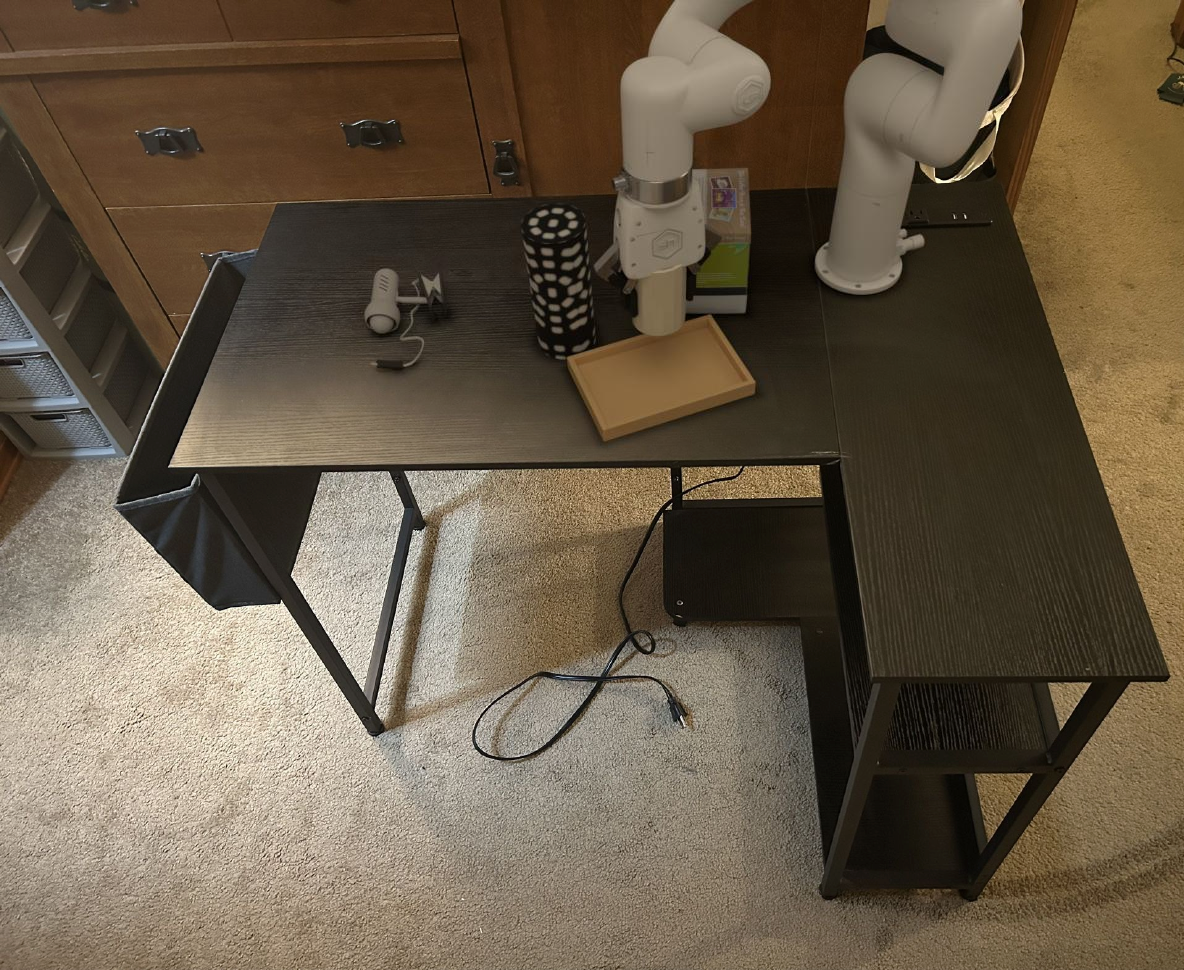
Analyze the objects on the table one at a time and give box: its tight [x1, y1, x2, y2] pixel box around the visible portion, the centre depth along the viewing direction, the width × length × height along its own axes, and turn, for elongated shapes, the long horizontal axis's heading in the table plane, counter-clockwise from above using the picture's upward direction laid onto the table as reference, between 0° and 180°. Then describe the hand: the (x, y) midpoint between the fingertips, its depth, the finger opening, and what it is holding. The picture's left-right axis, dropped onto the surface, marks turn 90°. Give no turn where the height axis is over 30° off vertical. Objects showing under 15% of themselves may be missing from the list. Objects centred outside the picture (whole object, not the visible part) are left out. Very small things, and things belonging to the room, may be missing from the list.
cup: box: [631, 264, 686, 336], centre depth 113 cm, size 7×7×10 cm
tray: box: [566, 313, 757, 442], centre depth 125 cm, size 22×15×2 cm
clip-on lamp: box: [364, 267, 449, 371], centre depth 134 cm, size 12×6×18 cm
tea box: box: [685, 167, 752, 315], centre depth 132 cm, size 15×10×15 cm, turn 175°
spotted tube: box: [520, 202, 597, 360], centre depth 125 cm, size 8×8×20 cm
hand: (658, 301), depth 115 cm, fingers closed on cup, 6 cm apart
